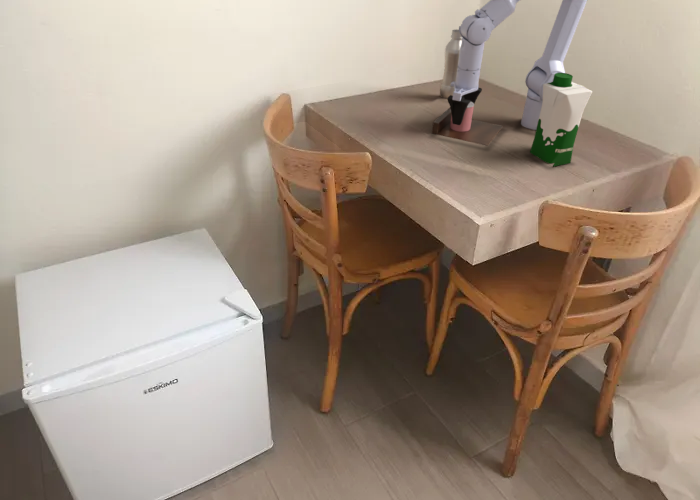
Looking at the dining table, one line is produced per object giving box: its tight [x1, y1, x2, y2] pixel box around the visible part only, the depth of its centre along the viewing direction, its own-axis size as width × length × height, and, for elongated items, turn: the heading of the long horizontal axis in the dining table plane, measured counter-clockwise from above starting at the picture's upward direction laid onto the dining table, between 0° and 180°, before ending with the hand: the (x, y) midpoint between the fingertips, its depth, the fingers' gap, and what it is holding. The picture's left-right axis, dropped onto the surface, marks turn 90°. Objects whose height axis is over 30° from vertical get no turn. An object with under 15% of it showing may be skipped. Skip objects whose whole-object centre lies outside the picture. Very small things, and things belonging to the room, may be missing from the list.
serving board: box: [431, 107, 504, 147], centre depth 143 cm, size 15×15×4 cm
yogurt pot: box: [450, 102, 475, 132], centre depth 142 cm, size 6×6×7 cm
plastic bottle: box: [439, 29, 462, 100], centre depth 160 cm, size 6×7×20 cm
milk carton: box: [529, 72, 593, 167], centre depth 126 cm, size 9×9×20 cm
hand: (461, 119), depth 143 cm, fingers open, 7 cm apart
